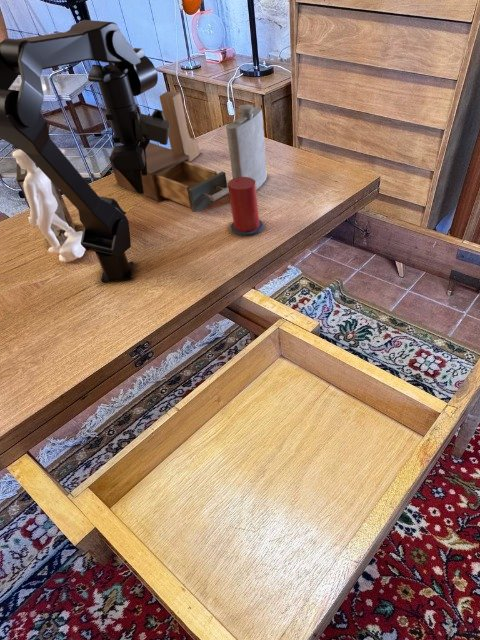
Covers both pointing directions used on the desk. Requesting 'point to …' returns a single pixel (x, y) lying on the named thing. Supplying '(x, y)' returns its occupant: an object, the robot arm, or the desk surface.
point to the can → (244, 203)
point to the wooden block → (178, 125)
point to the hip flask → (247, 145)
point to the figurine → (47, 210)
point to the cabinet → (153, 169)
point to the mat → (247, 232)
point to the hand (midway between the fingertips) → (143, 184)
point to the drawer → (192, 185)
